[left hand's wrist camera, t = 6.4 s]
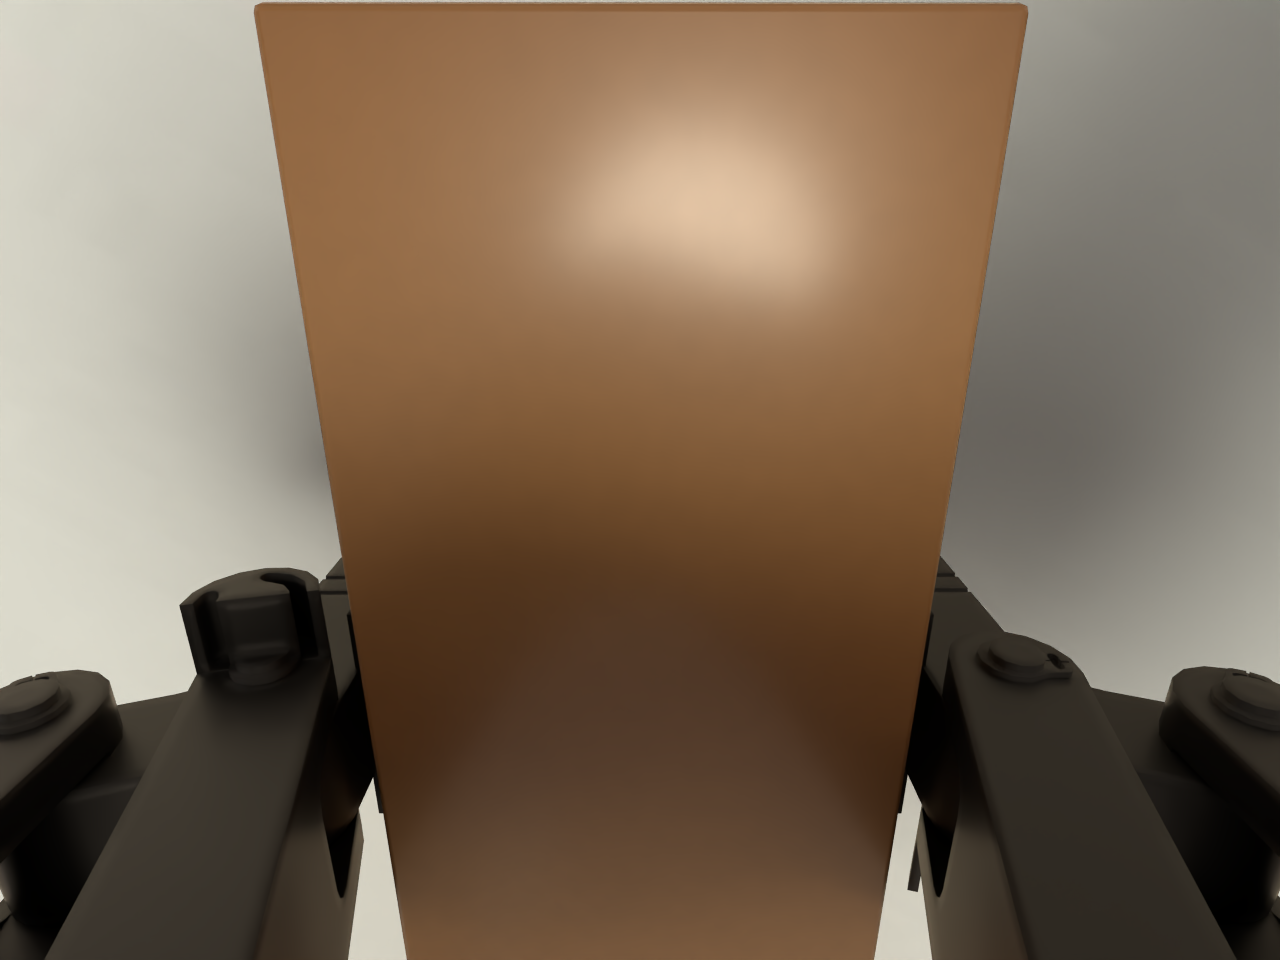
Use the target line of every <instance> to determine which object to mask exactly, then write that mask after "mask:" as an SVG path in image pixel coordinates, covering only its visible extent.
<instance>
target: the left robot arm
mask: <svg viewBox="0 0 1280 960" xmlns="http://www.w3.org/2000/svg"><path fill="white" fill-rule="evenodd" d="M179 606H180V610H181V614H182V618H183V621H184V625H185V629H186V633H187V637H188V641H189V645H190V649H191V653H192V656H193V660H194V664H195V668H196V672H197V675H196V677H195V679H194V681H193V683H192V684H191V686H190V688H189V690H188V691H187V692H183V693H179V694H175V695H170V696H164V697H159V698H154V699H148V700H143V701H138V702H132V703H127V704H122V705H117V704H116V701H115V698H114V695H113V691H112V688H111V685H110V682H109V680H107V679H106V678H105V677H103V676H102V675H101V674H99V673H98V672H91V671H83V670H70V671H60V672H47V673H42V674H37V675H36V676H35V677H32V676H29V677H26V678H23V679H19V680H17V681H14V682H13V683H11V684H10V685H8V686H6V687H3V688H1V689H0V889H1V892H2V894H3V897H4V899H3V900H2V901H1V902H0V960H348V955H349V947H350V940H351V933H352V925H353V918H354V910H355V903H356V895H357V888H358V880H359V873H360V865H361V858H362V851H363V843H364V838H363V831H362V824H361V819H360V813H359V806H360V804H361V802H362V800H363V798H364V796H365V793H366V791H367V789H368V787H369V785H370V783H371V781H372V778H373V779H374V785H375V791H376V797H377V803H378V809H379V813H383V808H382V802H381V796H380V789H379V783H378V777H377V771H376V765H375V758H374V752H373V746H372V740H371V734H370V728H369V721H368V715H367V709H366V703H365V697H364V690H363V684H362V678H361V672H360V666H359V660H358V653H357V647H356V641H355V635H354V629H353V622H352V616H351V610H350V604H349V598H348V591H347V585H346V579H345V573H344V567H343V561H342V558H341V559H340V560H339V561H338V562H337V563H336V565H335V566H334V567H333V568H332V569H331V571H330V572H329V573H328V574H327V575H326V579H323V580H322V581H321V583H320V584H319V581H318V579H317V578H316V577H314V576H313V575H312V574H310V573H309V572H307V571H302V570H297V569H293V568H264V569H258V570H253V571H247V572H242V573H237V574H234V575H231V576H228V577H225V578H222V579H219V580H216V581H214V582H212V583H210V584H208V585H206V586H204V587H202V588H201V589H199V590H197V591H195V592H193V593H192V594H191V595H190V596H189V597H188V598H187V599H186V600H184V601H183V602H182V603H181V604H180V605H179ZM907 776H909V778H910V780H911V782H912V784H913V786H914V789H915V791H916V793H917V795H918V797H919V799H920V801H921V804H922V807H921V813H920V819H919V824H918V830H917V836H916V841H915V847H914V852H913V858H912V864H911V869H910V875H909V883H908V890H910V891H915V892H918V887H919V882H920V876H921V879H922V886H923V894H924V901H925V908H926V916H927V923H928V931H929V938H930V946H931V953H932V960H1280V897H1279V896H1278V893H1279V891H1280V684H1277V683H1275V682H1273V681H1272V680H1270V679H1269V678H1267V677H1264V676H1261V675H1258V674H1254V673H1251V672H1250V674H1248V673H1246V671H1243V670H1238V669H1233V668H1228V669H1226V668H1216V667H1206V666H1203V667H1195V668H1188V669H1183V670H1182V671H1180V672H1179V673H1178V674H1176V675H1175V676H1174V677H1172V681H1171V684H1170V687H1169V690H1168V693H1167V697H1166V700H1165V702H1161V701H1156V700H1150V699H1145V698H1140V697H1134V696H1129V695H1124V694H1118V693H1113V692H1108V691H1103V690H1099V689H1095V688H1091V687H1090V685H1089V683H1088V681H1087V679H1086V677H1085V676H1084V674H1083V672H1082V671H1081V670H1080V669H1079V668H1078V667H1077V665H1076V664H1075V663H1074V662H1073V661H1072V660H1071V659H1070V658H1069V657H1067V656H1065V655H1064V654H1062V653H1061V652H1059V651H1058V650H1056V649H1055V648H1053V647H1051V646H1049V645H1047V644H1044V643H1042V642H1039V641H1037V640H1034V639H1031V638H1029V637H1026V636H1021V635H1017V634H1012V633H1007V632H1004V631H1003V630H1002V628H1001V627H1000V626H999V625H998V624H997V622H996V621H995V620H994V619H993V618H992V617H991V615H990V614H989V613H988V612H987V611H986V610H985V608H984V607H983V606H982V605H981V604H980V602H979V601H978V600H977V599H976V598H975V597H974V595H973V594H972V593H971V592H968V591H967V587H966V586H965V585H964V584H963V582H962V581H961V580H960V579H959V578H958V577H955V573H954V572H953V571H952V569H951V568H950V567H949V566H948V565H947V563H946V562H945V561H944V560H943V559H942V558H941V556H940V557H939V564H938V570H937V576H936V582H935V588H934V594H933V600H932V607H931V613H930V619H929V625H928V631H927V637H926V643H925V649H924V656H923V662H922V668H921V674H920V680H919V686H918V692H917V699H916V705H915V711H914V717H913V723H912V729H911V735H910V741H909V748H908V754H907V760H906V766H905V772H904V778H903V784H902V791H901V797H900V803H899V809H898V813H901V812H902V806H903V800H904V794H905V788H906V782H907Z"/></svg>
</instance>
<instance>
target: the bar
mask: <svg viewBox="0 0 1280 960" xmlns="http://www.w3.org/2000/svg"><path fill="white" fill-rule="evenodd" d="M254 16H255V23H256V29H257V35H258V41H259V47H260V53H261V60H262V66H263V72H264V78H265V84H266V91H267V97H268V103H269V109H270V115H271V122H272V128H273V134H274V140H275V146H276V152H277V159H278V165H279V171H280V177H281V183H282V190H283V196H284V202H285V208H286V214H287V220H288V227H289V233H290V239H291V245H292V251H293V258H294V264H295V270H296V276H297V282H298V288H299V295H300V301H301V307H302V313H303V319H304V326H305V332H306V338H307V344H308V350H309V357H310V363H311V369H312V375H313V381H314V387H315V394H316V400H317V406H318V412H319V418H320V425H321V431H322V437H323V443H324V449H325V455H326V462H327V468H328V474H329V480H330V486H331V493H332V499H333V505H334V511H335V517H336V523H337V530H338V536H339V542H340V548H341V554H342V561H343V567H344V573H345V579H346V585H347V591H348V598H349V604H350V610H351V616H352V622H353V629H354V635H355V641H356V647H357V653H358V660H359V666H360V672H361V678H362V684H363V690H364V697H365V703H366V709H367V715H368V721H369V728H370V734H371V740H372V746H373V752H374V758H375V765H376V771H377V777H378V783H379V789H380V796H381V802H382V808H383V814H384V820H385V826H386V833H387V839H388V845H389V851H390V857H391V864H392V870H393V876H394V882H395V888H396V895H397V901H398V907H399V913H400V919H401V925H402V932H403V938H404V944H405V950H406V956H407V960H874V956H875V950H876V944H877V938H878V932H879V926H880V919H881V913H882V907H883V901H884V895H885V889H886V883H887V876H888V870H889V864H890V858H891V852H892V846H893V840H894V834H895V827H896V821H897V815H898V809H899V803H900V797H901V791H902V784H903V778H904V772H905V766H906V760H907V754H908V748H909V741H910V735H911V729H912V723H913V717H914V711H915V705H916V699H917V692H918V686H919V680H920V674H921V668H922V662H923V656H924V649H925V643H926V637H927V631H928V625H929V619H930V613H931V607H932V600H933V594H934V588H935V582H936V576H937V570H938V564H939V557H940V551H941V545H942V539H943V533H944V527H945V521H946V515H947V508H948V502H949V496H950V490H951V484H952V478H953V472H954V465H955V459H956V453H957V447H958V441H959V435H960V429H961V422H962V416H963V410H964V404H965V398H966V392H967V386H968V380H969V373H970V367H971V361H972V355H973V349H974V343H975V337H976V330H977V324H978V318H979V312H980V306H981V300H982V294H983V288H984V281H985V275H986V269H987V263H988V257H989V251H990V245H991V238H992V232H993V226H994V220H995V214H996V208H997V202H998V195H999V189H1000V183H1001V177H1002V171H1003V165H1004V159H1005V153H1006V146H1007V140H1008V134H1009V128H1010V122H1011V116H1012V110H1013V103H1014V97H1015V91H1016V85H1017V79H1018V73H1019V67H1020V61H1021V54H1022V48H1023V42H1024V36H1025V30H1026V24H1027V18H1028V8H1027V6H1025V5H1023V4H1021V3H878V2H262V3H260V4H258V5H256V6H255V8H254Z"/></svg>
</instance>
